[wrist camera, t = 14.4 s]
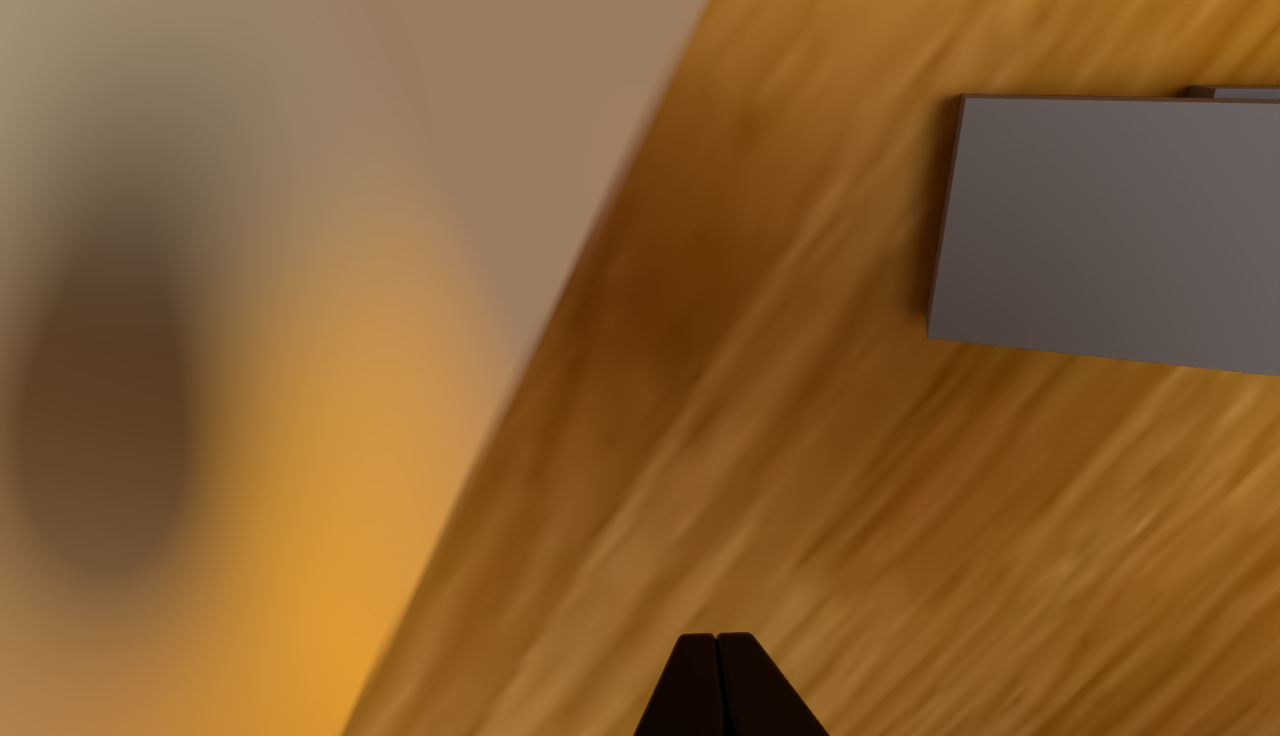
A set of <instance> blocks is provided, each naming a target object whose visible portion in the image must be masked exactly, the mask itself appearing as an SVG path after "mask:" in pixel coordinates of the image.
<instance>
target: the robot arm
mask: <svg viewBox="0 0 1280 736" xmlns="http://www.w3.org/2000/svg"><path fill="white" fill-rule="evenodd" d="M633 736H830V735H829V734H828V733H827V731H826V730H825V729H824V727H823V726H822V725H821V724H820V722H819V721H818V720H817V718H816V717H815V716H814V714H813V713H812V712H811V710H810V709H809V708H808V706H807V705H806V704H805V703H804V701H803V700H802V699H801V697H800V696H799V695H798V693H797V692H796V691H795V689H794V688H793V687H792V685H791V684H790V683H789V682H788V680H787V679H786V678H785V676H784V675H783V674H782V672H781V671H780V670H779V668H778V667H777V666H776V664H775V663H774V662H773V661H772V659H771V658H770V657H769V655H768V654H767V653H766V651H765V650H764V649H763V647H762V646H761V645H760V643H759V642H758V641H757V640H756V638H755V637H754V636H753V635H752V634H750V633H748V632H731V633H720V634H718V635H717V637H716V639H715V637H714V635H713V634H711V633H691V634H682V635H681V636H680V637H679V638H678V640H677V642H676V644H675V646H674V648H673V650H672V652H671V655H670V657H669V659H668V661H667V663H666V665H665V668H664V670H663V672H662V674H661V676H660V678H659V681H658V683H657V685H656V687H655V689H654V691H653V694H652V696H651V698H650V700H649V702H648V704H647V707H646V709H645V711H644V713H643V715H642V717H641V720H640V722H639V724H638V726H637V728H636V730H635V733H634V735H633Z"/></svg>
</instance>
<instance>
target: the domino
mask: <svg viewBox="0 0 1280 736" xmlns="http://www.w3.org/2000/svg"><path fill="white" fill-rule="evenodd" d="M926 326H927V338H931V339H940V340H949V341H959V342H968V343H977V344H986V345H995V346H1005V347H1014V348H1023V349H1032V350H1041V351H1051V352H1060V353H1069V354H1078V355H1088V356H1097V357H1106V358H1115V359H1124V360H1134V361H1143V362H1152V363H1161V364H1170V365H1180V366H1189V367H1198V368H1207V369H1216V370H1226V371H1235V372H1244V373H1253V374H1262V375H1272V376H1280V99H1232V98H1173V97H1114V96H1055V95H996V94H962V95H961V101H960V107H959V114H958V120H957V126H956V132H955V138H954V145H953V151H952V157H951V163H950V170H949V176H948V182H947V188H946V195H945V201H944V207H943V213H942V219H941V226H940V232H939V238H938V244H937V251H936V257H935V263H934V269H933V276H932V282H931V288H930V294H929V300H928V307H927V313H926Z"/></svg>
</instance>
